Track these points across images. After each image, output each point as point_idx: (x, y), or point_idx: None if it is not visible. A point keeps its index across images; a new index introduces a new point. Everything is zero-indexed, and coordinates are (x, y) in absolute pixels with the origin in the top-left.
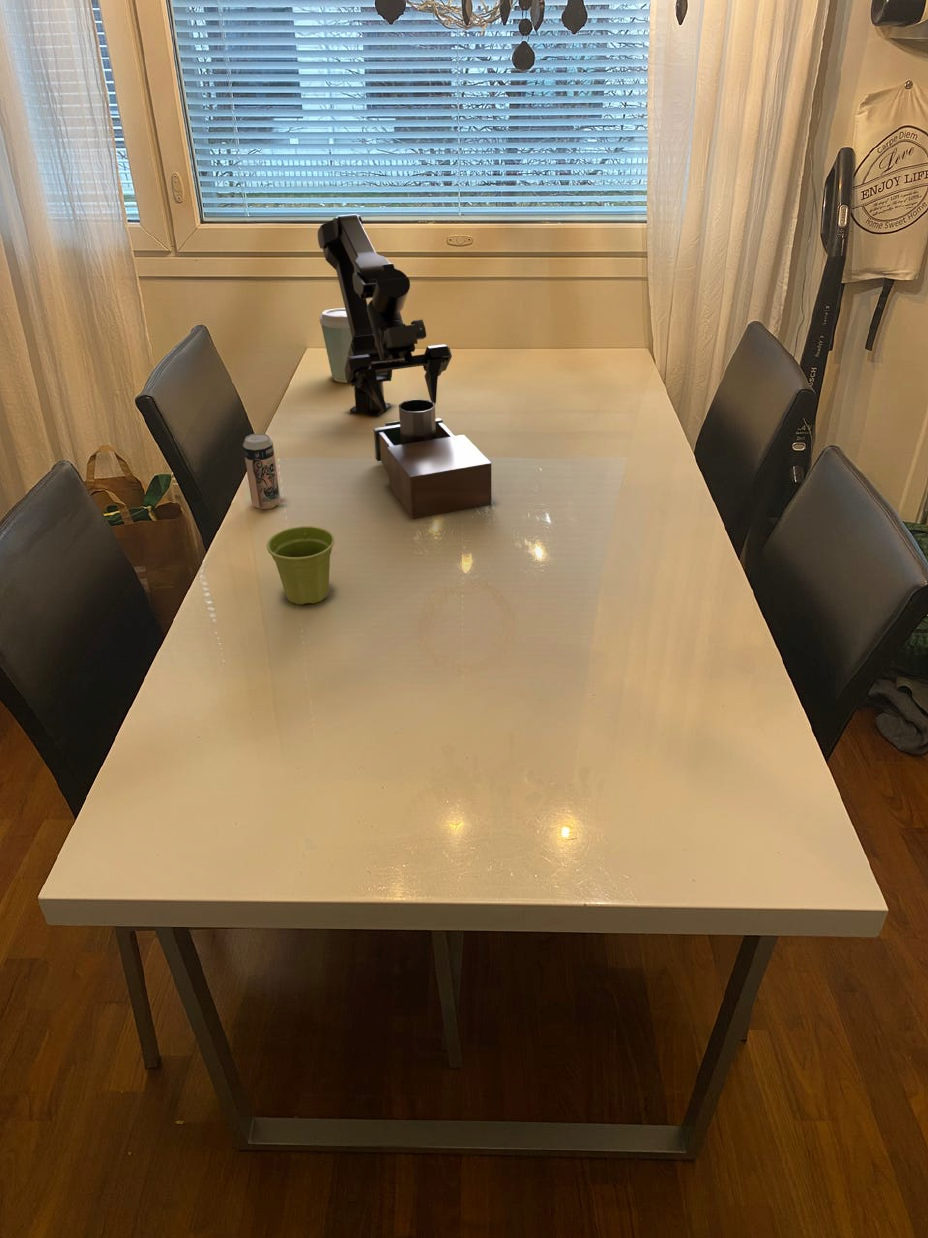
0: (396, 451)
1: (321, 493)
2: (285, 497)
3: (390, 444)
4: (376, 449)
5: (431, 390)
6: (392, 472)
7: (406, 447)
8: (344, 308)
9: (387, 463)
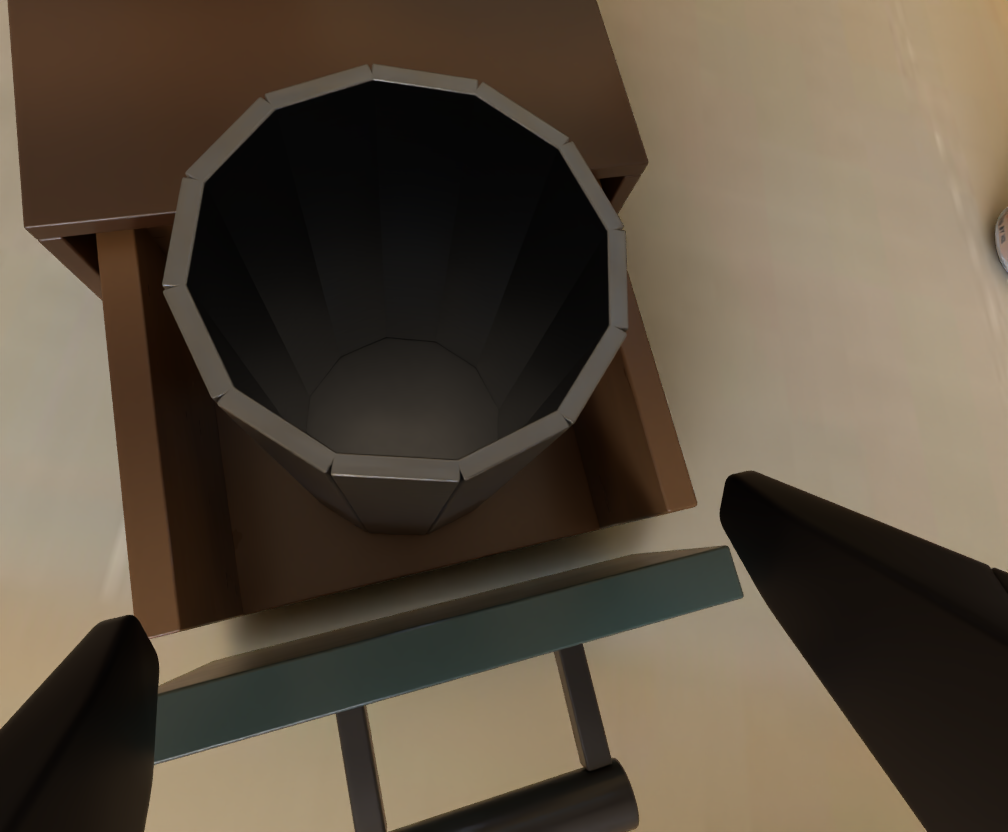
0: (589, 84)
1: (852, 301)
2: (980, 298)
3: None
4: (663, 551)
5: (68, 783)
6: None
7: None
8: None
9: None
